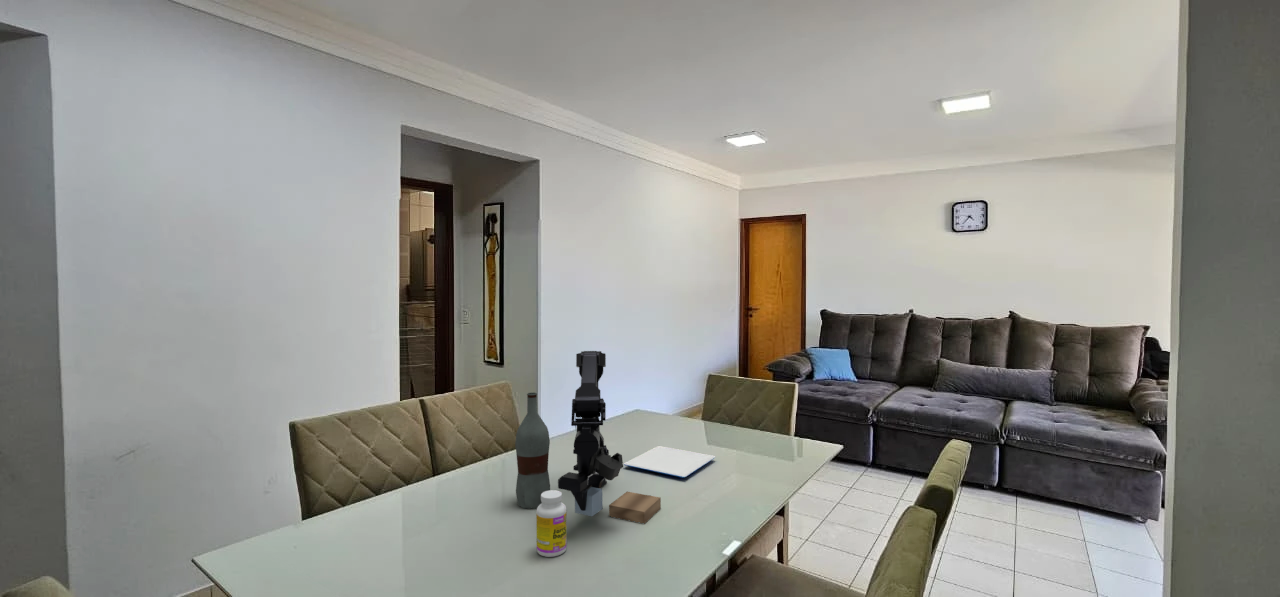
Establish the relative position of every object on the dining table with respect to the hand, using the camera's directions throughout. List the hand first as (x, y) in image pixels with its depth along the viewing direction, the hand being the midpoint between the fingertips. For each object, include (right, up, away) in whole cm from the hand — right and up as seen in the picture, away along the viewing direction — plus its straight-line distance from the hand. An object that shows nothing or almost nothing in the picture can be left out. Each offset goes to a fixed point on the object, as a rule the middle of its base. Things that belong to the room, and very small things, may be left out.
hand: (588, 506), depth 137 cm
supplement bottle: (-7, -5, -14) cm, 16 cm away
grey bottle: (-16, -4, +13) cm, 21 cm away
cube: (0, -1, 0) cm, 1 cm away
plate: (+23, -3, +43) cm, 48 cm away
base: (+12, -4, +6) cm, 13 cm away
